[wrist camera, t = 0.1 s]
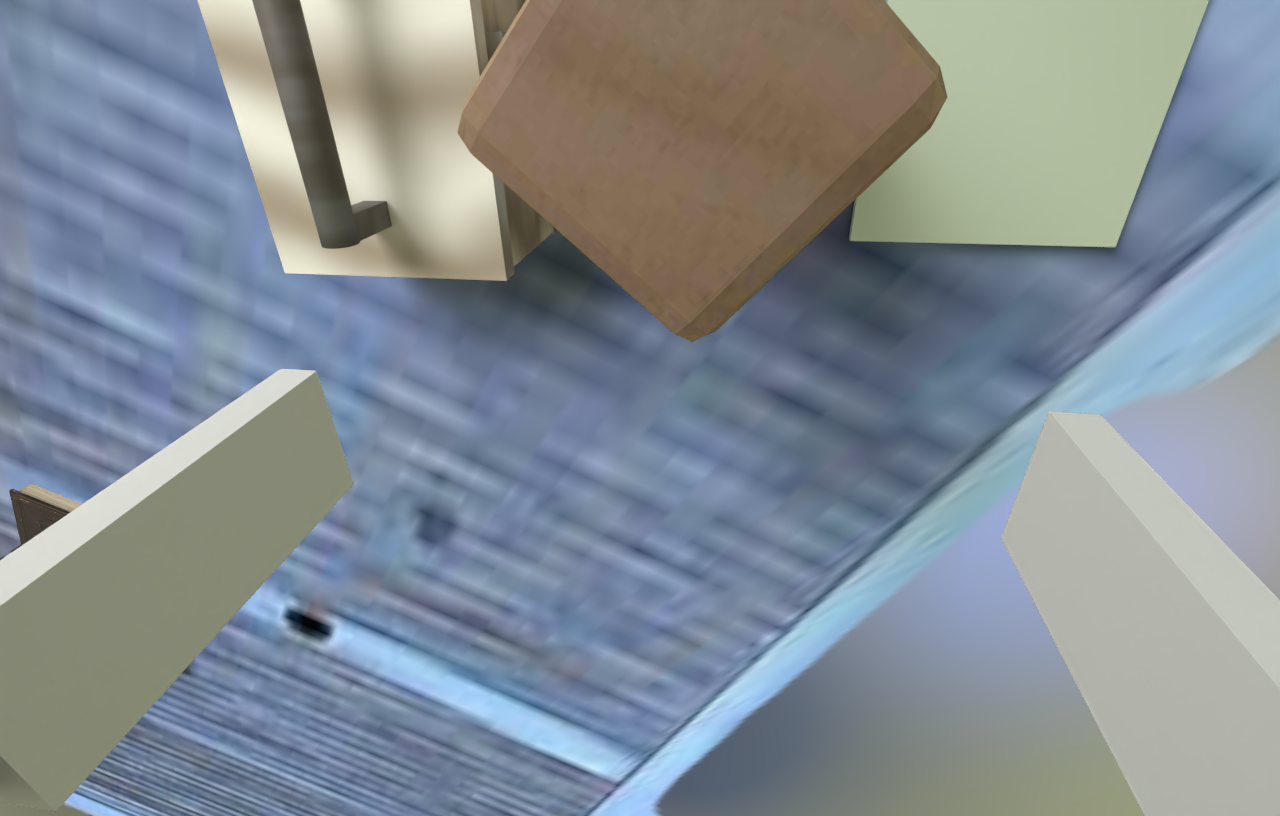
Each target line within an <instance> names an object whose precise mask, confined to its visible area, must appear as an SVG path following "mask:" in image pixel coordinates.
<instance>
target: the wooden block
mask: <svg viewBox="0 0 1280 816" xmlns="http://www.w3.org/2000/svg"><path fill="white" fill-rule="evenodd" d="M946 99H947V93H946V89H945V85H944V81H943V76H942V72H941V68H940V66H939V64H938V63H937V62H936V61H935V60H934V59H933V57H932V56H931V55H930V54H929V53H928V51H927V50H926V49H925V48H924V47H923V46H922V44H921V43H920V42H919V41H918V40H917V38H916V37H915V36H914V35H913V34H912V33H911V31H910V30H909V29H908V28H907V27H906V25H905V24H904V23H903V22H902V21H901V20H900V18H899V17H898V16H897V15H896V14H895V12H894V11H893V10H892V9H891V8H890V7H889V5H888V4H887V3H886V2H885V1H884V0H526V1H525V3H524V4H523V6H522V7H521V9H520V11H519V12H518V14H517V16H516V17H515V19H514V21H513V22H512V24H511V26H510V27H509V29H508V31H507V32H506V34H505V36H504V37H503V39H502V41H501V42H500V44H499V46H498V47H497V49H496V51H495V52H494V54H493V56H492V57H491V59H490V61H489V62H488V64H487V66H486V67H485V69H484V71H483V72H482V74H481V76H480V77H479V79H478V81H477V82H476V84H475V86H474V87H473V89H472V91H471V92H470V94H469V96H468V97H467V99H466V101H465V102H464V105H463V110H462V115H461V119H460V123H459V128H458V132H457V133H458V135H459V136H460V138H461V139H462V141H463V142H464V144H465V145H466V147H467V149H468V150H469V152H470V153H471V154H472V155H473V156H474V157H475V158H476V159H477V160H479V161H480V162H481V163H482V164H483V165H484V166H485V167H486V168H488V169H489V170H490V171H491V172H492V173H493V174H494V175H496V176H497V177H498V178H499V179H500V180H501V181H502V182H503V183H505V184H506V185H507V186H508V187H509V188H510V189H511V190H512V191H514V192H515V193H516V194H517V195H518V196H519V197H520V198H521V199H523V200H524V201H525V202H526V203H527V204H528V205H529V206H531V207H532V208H533V209H534V210H535V211H536V212H537V213H538V214H540V215H541V216H542V217H543V218H544V219H545V220H546V221H547V222H549V223H550V224H551V225H552V226H553V227H554V228H555V229H556V230H558V231H559V232H560V233H561V234H562V235H563V236H564V237H566V238H567V239H568V240H569V241H570V242H571V243H572V244H573V245H575V246H576V247H577V248H578V249H579V250H580V251H581V252H582V253H584V254H585V255H586V256H587V257H588V258H589V259H590V260H591V261H593V262H594V263H595V264H596V265H597V266H598V267H599V268H601V269H602V270H603V271H604V272H605V273H606V274H607V275H608V276H610V277H611V278H612V279H613V280H614V281H615V282H616V283H617V284H619V285H620V286H621V287H622V288H623V289H624V290H625V291H626V292H628V293H629V294H630V295H631V296H632V297H633V298H634V299H636V300H637V301H638V302H639V303H640V304H641V305H642V306H643V307H645V308H646V309H647V310H648V311H649V312H650V313H651V314H652V315H654V316H655V317H656V318H657V319H658V320H659V321H660V322H661V323H663V324H664V325H665V326H666V327H667V328H668V329H669V330H671V331H672V332H673V333H674V334H676V335H678V336H680V337H683V338H685V339H687V340H689V341H691V342H693V341H695V340H697V339H699V338H701V337H703V336H705V335H707V334H710V333H712V332H715V331H716V330H717V329H718V328H719V327H720V326H722V325H723V324H724V323H725V322H726V321H727V320H728V319H729V318H730V317H731V316H732V315H733V314H734V313H735V312H736V311H737V310H739V309H740V308H741V307H742V306H743V305H744V304H745V303H746V302H747V301H748V300H749V299H750V298H751V297H752V296H753V295H754V294H755V293H757V292H758V291H759V290H760V289H761V288H762V287H763V286H764V285H765V284H766V283H767V282H768V281H769V280H770V279H771V278H772V277H774V276H775V275H776V274H777V273H778V272H779V271H780V270H781V269H782V268H783V267H784V266H785V265H786V264H787V263H788V262H789V261H790V260H792V259H793V258H794V257H795V256H796V255H797V254H798V253H799V252H800V251H801V250H802V249H803V248H804V247H805V246H806V245H807V244H809V243H810V242H811V241H812V240H813V239H814V238H815V237H816V236H817V235H818V234H819V233H820V232H821V231H822V230H823V229H824V228H826V227H827V226H828V225H829V224H830V223H831V222H832V221H833V220H834V219H835V218H836V217H837V216H838V215H839V214H840V213H841V212H842V211H844V210H845V209H846V208H847V207H848V206H849V205H850V204H851V203H852V202H853V201H854V200H855V199H856V198H857V197H858V196H859V195H861V194H862V193H863V192H864V191H865V190H866V189H867V188H868V187H869V186H870V185H871V184H872V183H873V182H874V181H875V180H876V179H877V178H879V177H880V176H881V175H882V174H883V173H884V172H885V171H886V170H887V169H888V168H889V167H890V166H891V165H892V164H893V163H894V162H896V161H897V160H898V159H899V158H900V157H901V156H902V155H903V154H904V153H905V152H906V151H907V150H908V149H909V148H910V147H911V146H912V145H914V144H915V143H916V142H917V141H918V140H919V139H920V138H921V137H922V136H923V135H924V134H925V133H926V132H927V131H928V130H929V129H931V127H932V125H933V123H934V121H935V119H936V118H937V116H938V114H939V112H940V110H941V108H942V106H943V105H944V103H945V101H946Z"/></svg>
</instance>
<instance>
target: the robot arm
mask: <svg viewBox="0 0 1280 816" xmlns="http://www.w3.org/2000/svg"><path fill="white" fill-rule="evenodd" d="M353 484H354V483H353V480H352V477H351V474H350V471H349V468H348V465H347V462H346V459H345V456H344V453H343V450H342V447H341V443H340V440H339V437H338V434H337V431H336V428H335V425H334V422H333V419H332V416H331V413H330V410H329V407H328V404H327V401H326V398H325V395H324V392H323V389H322V386H321V383H320V380H319V377H318V374H317V371H309V370H291V369H280V370H279V371H277V372H276V373H274V374H273V375H271V376H270V377H268V378H267V379H265V380H264V381H263V382H261V383H260V384H258V385H257V386H255V387H254V388H252V389H251V390H249V391H248V392H246V393H245V394H243V395H242V396H241V397H239V398H238V399H236V400H235V401H233V402H232V403H230V404H229V405H227V406H226V407H224V408H223V409H221V410H220V411H219V412H217V413H216V414H214V415H213V416H211V417H210V418H208V419H207V420H205V421H204V422H202V423H201V424H199V425H198V426H197V427H195V428H194V429H192V430H191V431H189V432H188V433H186V434H185V435H183V436H182V437H180V438H179V439H177V440H176V441H175V442H173V443H172V444H170V445H169V446H167V447H166V448H164V449H163V450H161V451H160V452H158V453H157V454H155V455H154V456H153V457H151V458H150V459H148V460H147V461H145V462H144V463H142V464H141V465H139V466H138V467H136V468H135V469H133V470H132V471H131V472H129V473H128V474H126V475H125V476H123V477H122V478H120V479H119V480H117V481H116V482H114V483H113V484H111V485H110V486H109V487H107V488H106V489H104V490H103V491H101V492H100V493H98V494H97V495H95V496H94V497H92V498H91V499H89V500H88V501H87V502H85V503H84V504H82V505H81V506H79V507H78V508H76V509H75V510H73V511H72V512H70V513H69V514H67V515H66V516H65V517H63V518H62V519H60V520H59V521H57V522H55V523H53V524H51V525H49V526H48V527H46V528H45V529H43V530H42V531H40V532H39V533H37V534H36V535H34V536H33V537H31V538H30V539H28V540H27V541H25V542H24V543H23V544H21V545H20V546H18V547H17V548H15V549H14V550H12V551H11V553H10V554H9V555H7V556H6V557H4V556H3V557H2V558H0V799H1V800H2V801H3V802H6V803H11V804H17V805H23V806H28V807H33V808H39V809H44V810H50V811H55V812H56V811H57V810H58V809H59V808H60V806H61V805H62V804H63V803H64V802H65V801H66V800H67V799H68V798H69V797H70V795H71V794H72V793H73V792H74V791H75V790H76V789H77V788H78V787H79V786H80V784H81V783H82V782H83V781H84V780H85V779H86V778H87V777H88V776H89V775H90V773H91V772H92V771H93V770H94V769H95V768H96V767H97V766H98V765H99V764H100V762H101V761H102V760H103V759H104V758H105V757H106V756H107V755H108V754H109V753H110V751H111V750H112V749H113V748H114V747H115V746H116V745H117V744H118V743H119V742H120V740H121V739H122V738H123V737H124V736H125V735H126V734H127V733H128V732H129V731H130V729H131V728H132V727H133V726H134V725H135V724H136V723H137V722H138V721H139V720H140V718H141V717H142V716H143V715H144V714H145V713H146V712H147V711H148V710H149V709H150V707H151V706H152V705H153V704H154V703H155V702H156V701H157V700H158V699H159V698H160V696H161V695H162V694H163V693H164V692H165V691H166V690H167V689H168V688H169V687H170V685H171V684H172V683H173V682H174V681H175V680H176V679H177V678H178V677H179V676H180V674H181V673H182V672H183V671H184V670H185V669H186V668H187V667H188V666H189V665H190V664H191V662H192V661H193V660H194V659H195V658H196V657H197V656H198V655H199V654H200V653H201V651H202V650H203V649H204V648H205V647H206V646H207V645H208V644H209V643H210V642H211V640H212V639H213V638H214V637H215V636H216V635H217V634H218V633H219V632H220V631H221V629H222V628H223V627H224V626H225V625H226V624H227V623H228V622H229V621H230V620H231V618H232V617H233V616H234V615H235V614H236V613H237V612H238V611H239V610H240V609H241V607H242V606H243V605H244V604H245V603H246V602H247V601H248V600H249V599H250V598H251V596H252V595H253V594H254V593H255V592H256V591H257V590H258V589H259V588H260V587H261V585H262V584H263V583H264V582H265V581H266V580H267V579H268V578H269V577H270V576H271V574H272V573H273V572H274V571H275V570H276V569H277V568H278V567H279V566H280V565H281V563H282V562H283V561H284V560H285V559H286V558H287V557H288V556H289V555H290V554H291V552H292V551H293V550H294V549H295V548H296V547H297V546H298V545H299V544H300V543H301V541H302V540H303V539H304V538H305V537H306V536H307V535H308V534H309V533H310V532H311V530H312V529H313V528H314V527H315V526H316V525H317V524H318V523H319V522H320V521H321V519H322V518H323V517H324V516H325V515H326V514H327V513H328V512H329V511H330V510H331V508H332V507H333V506H334V505H335V504H336V503H337V502H338V501H339V500H340V499H341V497H342V496H343V495H344V494H345V493H346V492H347V491H348V490H349V489H350V488H351V486H352V485H353ZM1001 539H1002V541H1003V543H1004V545H1005V547H1006V549H1007V551H1008V553H1009V555H1010V557H1011V559H1012V561H1013V562H1014V565H1015V566H1016V568H1017V570H1018V572H1019V574H1020V576H1021V578H1022V580H1023V582H1024V584H1025V586H1026V588H1027V590H1028V591H1029V594H1030V595H1031V597H1032V599H1033V601H1034V603H1035V605H1036V607H1037V609H1038V611H1039V612H1040V614H1041V617H1042V619H1043V621H1044V622H1045V624H1046V626H1047V628H1048V630H1049V632H1050V634H1051V636H1052V638H1053V640H1054V642H1055V644H1056V646H1057V648H1058V649H1059V651H1060V653H1061V655H1062V657H1063V659H1064V661H1065V663H1066V665H1067V667H1068V669H1069V671H1070V673H1071V675H1072V677H1073V678H1074V680H1075V682H1076V684H1077V686H1078V688H1079V690H1080V692H1081V694H1082V696H1083V698H1084V700H1085V702H1086V704H1087V705H1088V707H1089V709H1090V711H1091V713H1092V715H1093V717H1094V719H1095V721H1096V723H1097V725H1098V727H1099V729H1100V730H1101V732H1102V734H1103V736H1104V738H1105V740H1106V742H1107V744H1108V746H1109V748H1110V750H1111V752H1112V754H1113V756H1114V758H1115V759H1116V761H1117V763H1118V765H1119V767H1120V769H1121V771H1122V773H1123V775H1124V777H1125V779H1126V781H1127V783H1128V785H1129V786H1130V788H1131V790H1132V792H1133V794H1134V796H1135V798H1136V800H1137V802H1138V803H1139V806H1140V808H1141V810H1142V812H1143V813H1144V815H1145V816H1280V600H1279V599H1278V598H1277V597H1276V596H1275V595H1274V594H1273V593H1272V592H1271V591H1270V590H1269V589H1268V588H1267V587H1266V585H1264V583H1263V582H1262V581H1261V580H1260V579H1259V578H1258V577H1257V576H1256V575H1255V574H1254V573H1253V572H1252V571H1251V570H1250V569H1249V568H1248V567H1247V566H1246V565H1245V564H1244V563H1243V562H1242V561H1241V560H1240V559H1239V558H1238V557H1237V556H1236V555H1235V554H1234V552H1233V551H1232V550H1231V549H1230V548H1229V547H1228V546H1227V545H1226V544H1225V543H1224V542H1223V541H1222V540H1221V539H1220V538H1219V537H1218V536H1217V535H1216V534H1215V533H1214V532H1213V531H1212V530H1211V529H1210V528H1209V527H1208V525H1207V524H1206V523H1205V522H1204V521H1203V520H1201V518H1200V517H1199V516H1198V515H1197V514H1196V513H1195V512H1194V511H1193V510H1192V509H1191V508H1190V507H1189V506H1188V505H1187V504H1186V503H1185V502H1184V501H1183V500H1182V499H1181V498H1180V497H1179V495H1178V494H1177V493H1176V492H1175V491H1174V490H1172V488H1171V487H1170V486H1169V485H1168V484H1167V483H1166V482H1165V481H1164V480H1163V479H1162V478H1161V477H1160V476H1159V475H1158V474H1157V473H1156V472H1155V471H1154V470H1153V469H1152V468H1151V467H1150V466H1149V465H1148V463H1147V462H1146V461H1145V460H1143V458H1142V457H1140V455H1139V454H1138V453H1137V452H1136V451H1135V450H1134V449H1133V448H1132V447H1131V446H1130V445H1129V444H1128V443H1127V442H1126V441H1125V440H1124V439H1123V438H1122V437H1121V436H1120V434H1118V432H1117V431H1116V430H1115V429H1114V428H1113V427H1112V426H1111V425H1110V424H1109V423H1108V422H1107V421H1106V420H1105V419H1104V418H1103V417H1102V416H1101V415H1100V414H1083V413H1065V412H1048V415H1047V418H1046V420H1045V423H1044V425H1043V428H1042V431H1041V433H1040V436H1039V439H1038V441H1037V444H1036V447H1035V449H1034V452H1033V455H1032V457H1031V460H1030V463H1029V465H1028V468H1027V470H1026V473H1025V476H1024V478H1023V481H1022V484H1021V486H1020V489H1019V492H1018V494H1017V497H1016V500H1015V503H1014V505H1013V508H1012V511H1011V513H1010V516H1009V518H1008V521H1007V523H1006V526H1005V529H1004V531H1003V534H1002V537H1001Z"/></svg>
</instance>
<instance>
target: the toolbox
mask: <svg viewBox="0 0 1280 816" xmlns="http://www.w3.org/2000/svg"><path fill="white" fill-rule="evenodd" d="M525 1H526V0H198V3H199V6H200V9H201V12H202V15H203V19H204V22H205V25H206V28H207V31H208V34H209V37H210V40H211V44H212V47H213V50H214V53H215V56H216V59H217V62H218V65H219V69H220V72H221V75H222V78H223V81H224V84H225V87H226V90H227V94H228V97H229V100H230V103H231V106H232V109H233V112H234V115H235V119H236V122H237V125H238V128H239V131H240V134H241V137H242V140H243V143H244V147H245V150H246V153H247V156H248V159H249V162H250V165H251V168H252V172H253V175H254V178H255V181H256V184H257V187H258V190H259V193H260V197H261V200H262V203H263V206H264V209H265V212H266V215H267V218H268V222H269V225H270V228H271V231H272V234H273V237H274V240H275V243H276V247H277V250H278V253H279V256H280V259H281V262H282V265H283V268H284V272H285V273H299V274H327V275H355V276H383V277H412V278H440V279H468V280H496V281H507V280H508V279H509V278H510V277H511V276H513V275H514V274H515V272H514V266H515V265H516V264H518V263H519V262H520V261H521V260H522V259H523V258H524V257H526V256H527V255H528V254H529V253H530V252H531V251H532V250H533V249H535V248H536V247H537V246H538V245H539V244H540V243H541V242H543V241H544V240H545V239H546V238H547V237H548V236H549V235H550V234H552V233H553V232H554V229H553V226H552V225H551V224H550V223H549V222H547V221H546V220H545V219H544V218H543V217H542V216H541V215H540V214H538V213H537V212H536V211H535V210H534V209H533V208H532V207H531V206H529V205H528V204H527V203H526V202H525V201H524V200H523V199H521V198H520V197H519V196H518V195H517V194H516V193H515V192H514V191H512V190H511V189H510V188H509V187H508V186H507V185H506V184H505V183H503V182H502V181H501V180H500V179H499V178H498V177H497V176H496V175H494V174H493V173H492V172H491V171H490V170H489V169H488V168H486V167H485V166H484V165H483V164H482V163H481V162H480V161H479V160H477V159H476V158H475V157H474V156H473V155H472V154H471V153H470V152H469V150H468V149H467V147H466V145H465V144H464V142H463V141H462V139H461V138H460V136H459V135H458V133H457V132H458V128H459V123H460V119H461V115H462V110H463V105H464V102H465V101H466V99H467V97H468V96H469V94H470V92H471V91H472V89H473V87H474V86H475V84H476V82H477V81H478V79H479V77H480V76H481V74H482V72H483V71H484V69H485V67H486V66H487V64H488V62H489V61H490V59H491V57H492V56H493V54H494V52H495V51H496V49H497V47H498V46H499V44H500V42H501V41H502V39H503V37H504V36H505V34H506V32H507V31H508V29H509V27H510V26H511V24H512V22H513V21H514V19H515V17H516V16H517V14H518V12H519V11H520V9H521V7H522V6H523V4H524V3H525Z"/></svg>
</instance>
